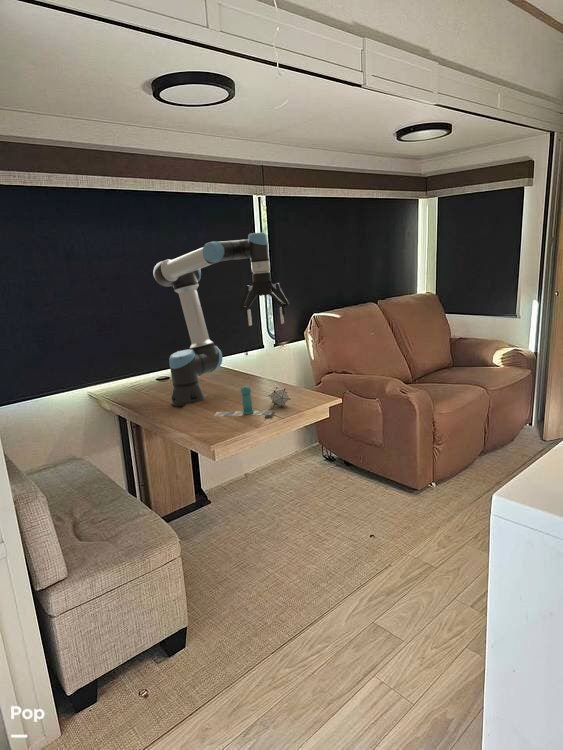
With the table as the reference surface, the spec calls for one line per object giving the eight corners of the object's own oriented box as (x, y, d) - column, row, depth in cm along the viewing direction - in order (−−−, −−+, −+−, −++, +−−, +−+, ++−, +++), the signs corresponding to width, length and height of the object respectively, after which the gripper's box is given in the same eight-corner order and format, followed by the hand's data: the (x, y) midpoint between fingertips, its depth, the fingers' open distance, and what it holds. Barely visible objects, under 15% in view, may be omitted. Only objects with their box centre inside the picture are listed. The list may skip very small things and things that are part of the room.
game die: (279, 416, 211) (267, 402, 205) (273, 404, 218) (261, 390, 212) (296, 404, 211) (285, 389, 204) (290, 392, 217) (279, 378, 211)
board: (213, 419, 203) (212, 416, 203) (217, 414, 209) (217, 411, 208) (271, 417, 199) (270, 414, 198) (273, 412, 204) (273, 409, 204)
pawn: (242, 415, 201) (238, 387, 198) (244, 411, 205) (241, 384, 202) (252, 414, 200) (249, 387, 198) (254, 411, 204) (251, 384, 202)
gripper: (229, 275, 201) (235, 327, 206) (290, 270, 197) (294, 323, 202) (233, 274, 208) (239, 324, 213) (293, 269, 204) (297, 320, 209)
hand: (266, 324), depth 208 cm, fingers open, 13 cm apart
